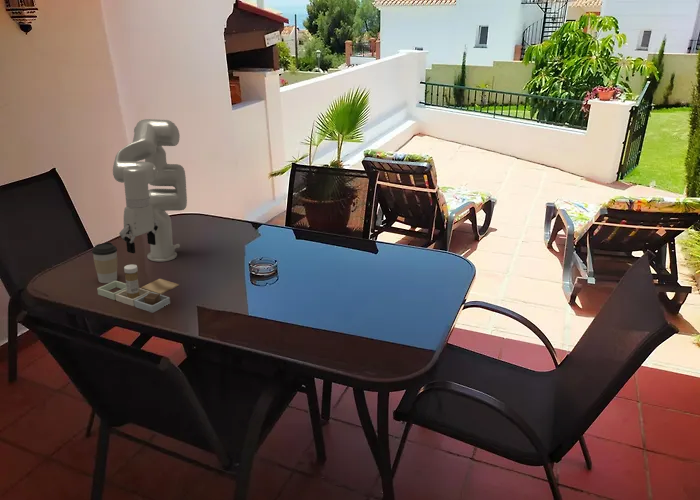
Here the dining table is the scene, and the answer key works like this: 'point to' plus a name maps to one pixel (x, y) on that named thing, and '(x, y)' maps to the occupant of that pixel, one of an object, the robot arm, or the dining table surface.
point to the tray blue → (152, 308)
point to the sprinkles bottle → (132, 281)
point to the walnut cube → (152, 298)
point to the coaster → (160, 286)
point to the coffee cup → (105, 262)
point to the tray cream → (124, 299)
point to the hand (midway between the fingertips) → (141, 248)
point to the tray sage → (105, 289)
